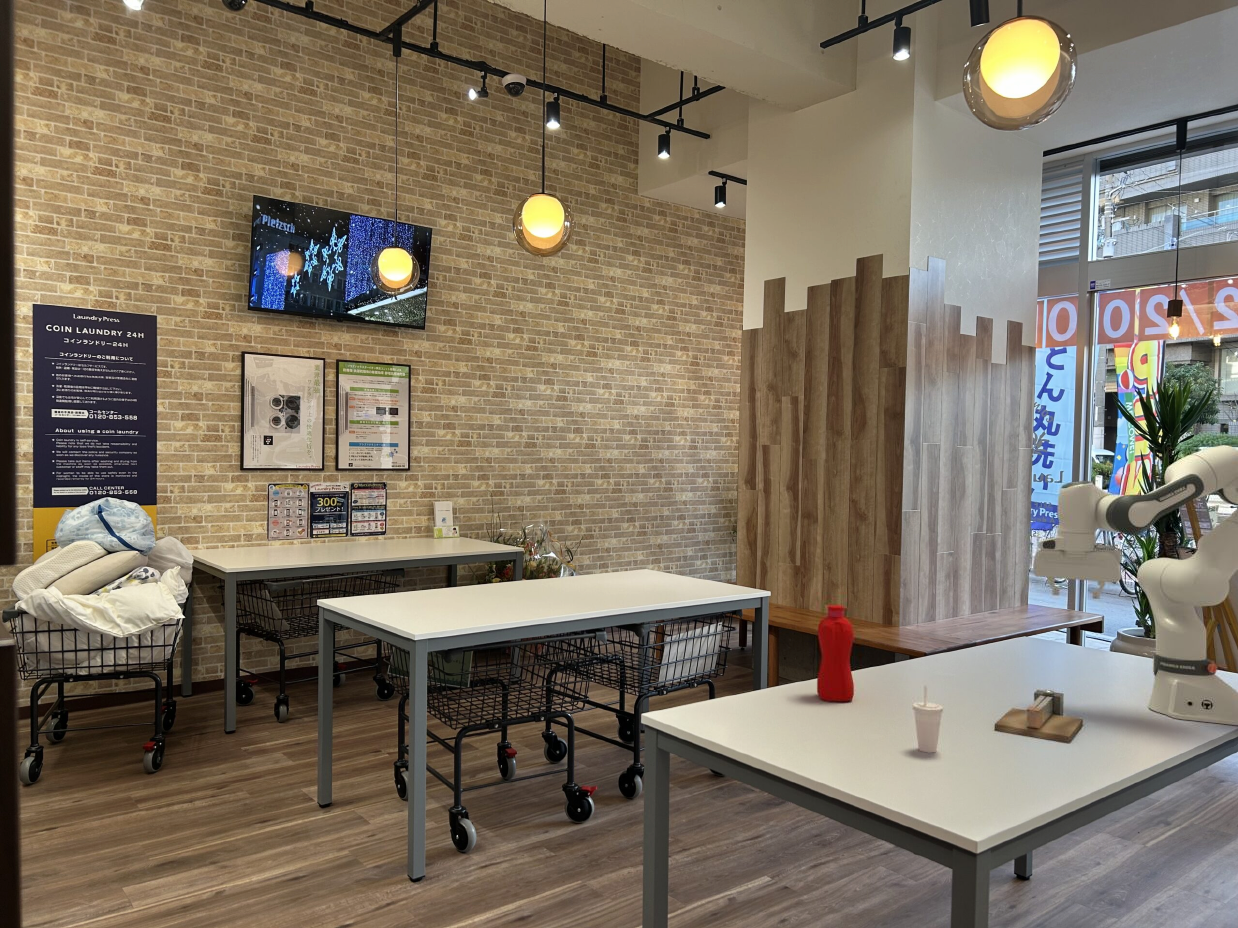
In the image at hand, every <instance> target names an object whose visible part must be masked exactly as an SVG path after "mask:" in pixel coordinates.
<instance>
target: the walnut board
mask: <svg viewBox="0 0 1238 928" xmlns="http://www.w3.org/2000/svg"><path fill="white" fill-rule="evenodd" d="M1083 725H1084V720H1083V718H1079V717H1073V716H1072V717H1071V716H1067V715H1063V716H1061V715H1054V714H1052V715H1051V716H1050V717H1049V718H1048V719H1047V720H1046V721H1045V722H1044V723H1043V724H1042V726H1041V727H1040V728H1033V727H1027V709H1022V708H1016V707H1012V708H1011V709H1009V710H1008V711H1007V712H1006V713H1005V714H1004V715H1003V716H1001V718H999V719H998V720H997V721H996V722H995V723H994V731H997V732H1003V733H1008V734H1014V735H1019V736H1027V737H1033V738H1036V739H1037V738H1038V739H1043V740H1050V741H1056V742H1061V743H1067V744H1070V743H1071V742H1072V740H1073V739H1074V738H1075V736H1076V735H1077V733H1078V732H1079V731H1080V729H1081V728H1082V727H1083Z"/></svg>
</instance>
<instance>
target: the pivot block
mask: <svg viewBox="0 0 1238 928" xmlns="http://www.w3.org/2000/svg"><path fill="white" fill-rule="evenodd" d="M1040 695H1041V696H1046V697H1053V714H1054V715H1061V716H1064V698H1065V697H1064V693H1063V692H1055V690H1053V689H1043V690H1041V689H1037V690H1036V691H1034V693H1033V702H1034V701H1035V700H1036V699H1037V698H1038V697H1039V696H1040Z"/></svg>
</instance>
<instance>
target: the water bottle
mask: <svg viewBox="0 0 1238 928" xmlns="http://www.w3.org/2000/svg"><path fill="white" fill-rule="evenodd" d="M817 627H818V628H817V638H818V643H819V648H820V652H821V661H820V666H819V671H818V675H817V681H816V683H817V684H816V693H817V695H818V698H820V699H821V700H823V701H825V702H840V703H841V702H842V703H847V702H851V701H852V700H853V699H854V697H855V696H854V695H855V683H854V678H853V673H852V670H851V664H850V660H851V659H850V658H851V655H852V649H853V648H852V647H853V643H854V638H855V634H854V632H855V631H854V627H853V625H852V623H851V621H849V619H847V618H846V617H845V606H843V605H839V604H831V605H827V616H825V617H824V618H822V619H821V620H820V622H819V624H818V626H817Z"/></svg>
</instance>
